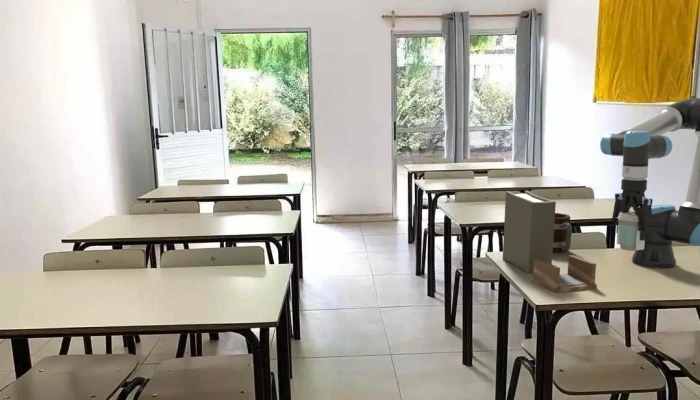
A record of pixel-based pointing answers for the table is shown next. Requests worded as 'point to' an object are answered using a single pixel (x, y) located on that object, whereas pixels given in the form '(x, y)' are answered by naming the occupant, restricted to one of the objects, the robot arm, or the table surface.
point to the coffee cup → (628, 230)
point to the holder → (565, 275)
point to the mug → (562, 233)
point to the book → (528, 230)
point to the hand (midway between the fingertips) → (630, 246)
